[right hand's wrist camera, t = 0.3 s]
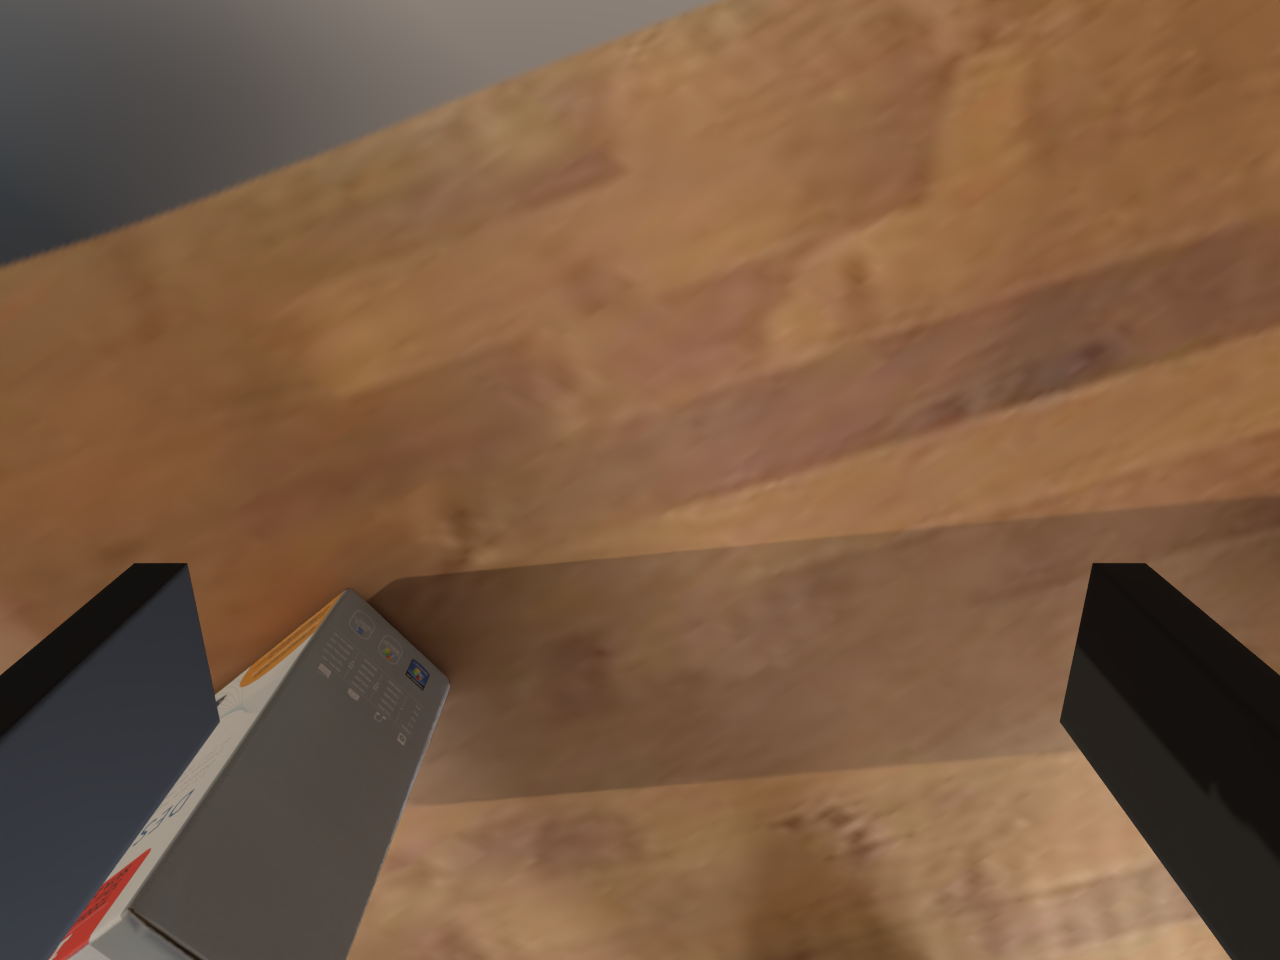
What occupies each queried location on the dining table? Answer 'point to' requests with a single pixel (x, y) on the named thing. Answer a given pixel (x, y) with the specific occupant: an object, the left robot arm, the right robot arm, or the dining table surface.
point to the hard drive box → (278, 805)
